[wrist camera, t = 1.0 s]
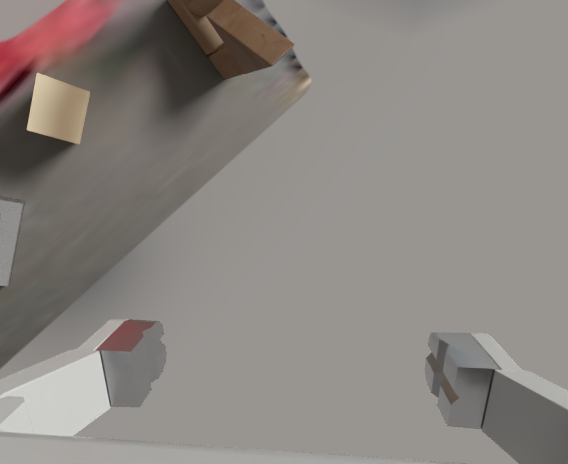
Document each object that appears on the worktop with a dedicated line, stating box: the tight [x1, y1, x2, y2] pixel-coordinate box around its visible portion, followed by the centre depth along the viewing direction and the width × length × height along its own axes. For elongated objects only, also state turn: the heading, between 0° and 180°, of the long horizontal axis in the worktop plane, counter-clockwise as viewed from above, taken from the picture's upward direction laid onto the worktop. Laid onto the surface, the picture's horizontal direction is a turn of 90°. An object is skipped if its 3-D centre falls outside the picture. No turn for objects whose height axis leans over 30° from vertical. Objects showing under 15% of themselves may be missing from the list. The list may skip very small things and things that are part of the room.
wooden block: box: [168, 0, 294, 79], centre depth 34 cm, size 4×11×18 cm, turn 39°
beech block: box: [27, 73, 90, 144], centre depth 33 cm, size 4×5×9 cm
